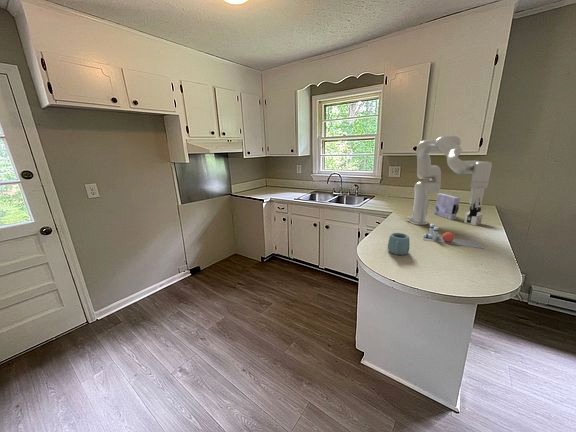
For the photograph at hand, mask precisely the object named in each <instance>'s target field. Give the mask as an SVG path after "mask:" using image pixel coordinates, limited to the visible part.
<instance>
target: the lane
mask: <svg viewBox="0 0 576 432" xmlns="http://www.w3.org/2000/svg"><path fill="white" fill-rule="evenodd" d="M422 240H424V241H429V242H435V243H436V242H437V243H443V244H451V245H457V246H463V247H469V248H475V249H477V248H478V249H484V246H483V243H482V242H481V241H474V240H468V239H467V240H466V239H459V238H454V240H453V241H451V242H446V241H444V240H443V238H442V236H440V239H437V241H433V240H432V238H425V237H424V236H423V238H422Z"/></svg>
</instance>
